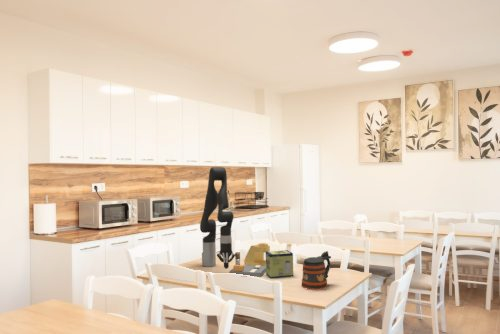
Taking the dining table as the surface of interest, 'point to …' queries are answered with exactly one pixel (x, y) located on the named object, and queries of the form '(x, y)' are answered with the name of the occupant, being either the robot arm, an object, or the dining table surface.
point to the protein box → (279, 264)
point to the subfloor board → (251, 270)
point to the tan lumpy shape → (256, 255)
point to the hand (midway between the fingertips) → (226, 268)
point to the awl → (237, 258)
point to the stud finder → (238, 267)
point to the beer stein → (316, 272)
